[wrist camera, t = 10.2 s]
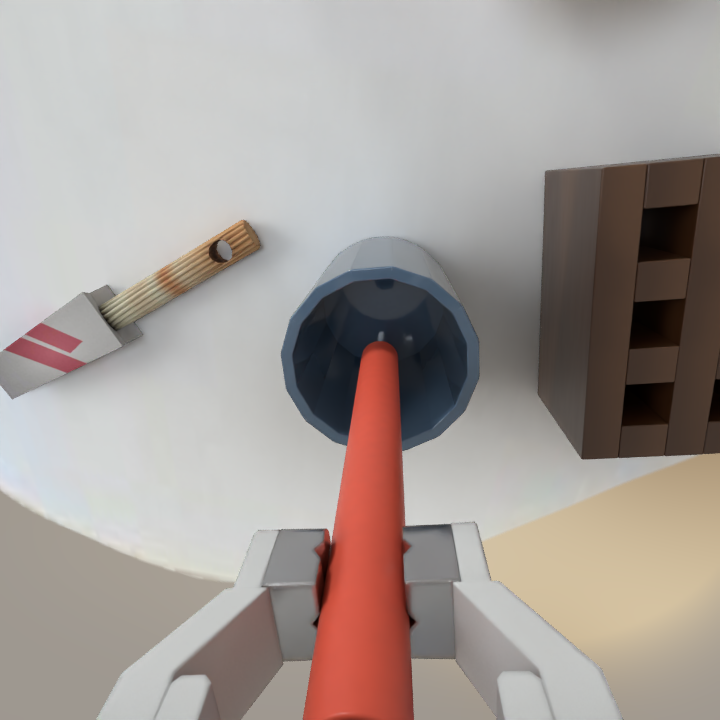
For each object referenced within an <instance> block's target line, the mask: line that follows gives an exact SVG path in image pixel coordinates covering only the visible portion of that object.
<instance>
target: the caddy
mask: <svg viewBox="0 0 720 720" xmlns="http://www.w3.org/2000/svg"><path fill="white" fill-rule="evenodd" d="M538 396H539V397H540V398H541V400H542V401H543V403H544V404H545V406H546V407H547V409H548V410H549V412H550V413H551V415H552V416H553V418H554V419H555V421H556V422H557V424H558V425H559V426H560V428H561V429H562V431H563V432H564V434H565V435H566V437H567V438H568V440H569V441H570V443H571V444H572V446H573V447H574V449H575V450H576V451H577V453H578V454H579V456H580V457H581V459H604V458H618V457H619V458H629V457H650V456H675V455H697V454H713V453H720V154H713V155H703V156H693V157H682V158H672V159H662V160H651V161H641V162H630V163H620V164H610V165H600V166H589V167H580V168H568V169H558V170H548V171H546V172H545V198H544V228H543V257H542V287H541V316H540V346H539V375H538Z"/></svg>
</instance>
